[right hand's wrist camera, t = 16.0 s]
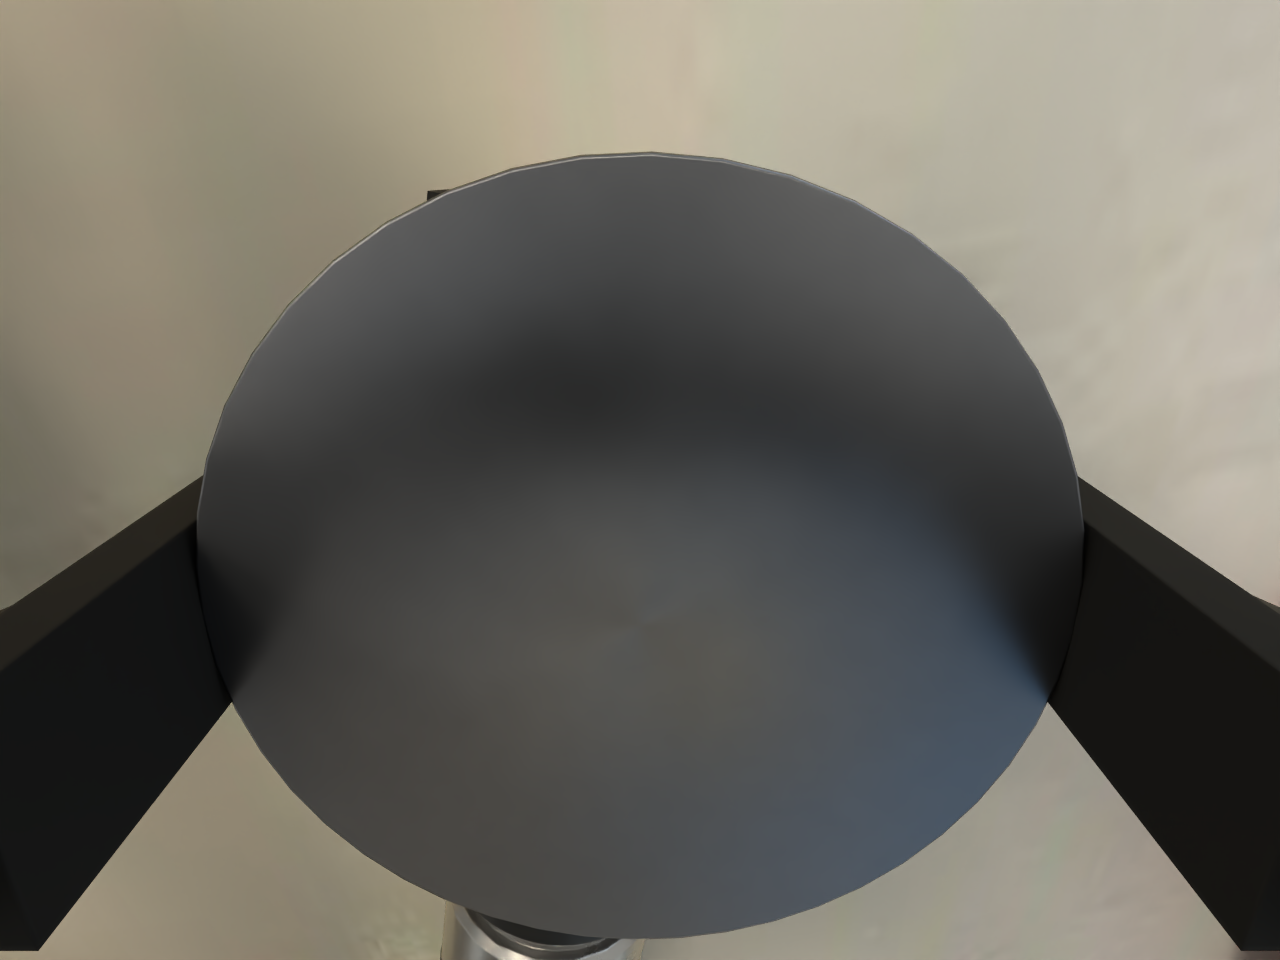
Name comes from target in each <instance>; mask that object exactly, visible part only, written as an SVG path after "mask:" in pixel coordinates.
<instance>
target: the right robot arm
mask: <svg viewBox="0 0 1280 960" xmlns="http://www.w3.org/2000/svg"><path fill="white" fill-rule="evenodd" d="M202 481H203V476H201V477H200V478H198V479H197V480H195V481H194V482H193V483H191V484H190V485H188V486H187V487H185V488H184V489H182V490H181V491H179V492H178V493H176V494H175V495H174V496H172V497H171V498H169V499H168V500H166V501H165V502H163V503H162V504H160V505H159V506H157V507H156V508H154V509H153V510H152V511H150V512H149V513H147V514H146V515H144V516H143V517H141V518H140V519H138V520H137V521H135V522H134V523H132V524H131V525H130V526H128V527H127V528H125V529H124V530H122V531H121V532H119V533H118V534H116V535H115V536H113V537H112V538H111V539H109V540H108V541H106V542H105V543H103V544H102V545H100V546H99V547H97V548H96V549H94V550H93V551H91V552H90V553H89V554H87V555H86V556H84V557H83V558H81V559H80V560H78V561H77V562H75V563H74V564H72V565H71V566H69V567H68V568H67V569H65V570H64V571H62V572H61V573H59V574H58V575H56V576H55V577H53V578H52V579H50V580H49V581H48V582H46V583H45V584H43V585H42V586H40V587H39V588H37V589H36V590H34V591H33V592H31V593H30V594H28V595H27V596H26V597H24V598H23V599H21V600H20V601H18V602H17V603H15V604H14V605H12V606H10V607H7V608H5V609H3V610H1V611H0V951H39V949H40V948H41V947H42V945H43V944H44V943H45V942H46V940H47V939H48V938H49V936H50V935H51V934H52V933H53V931H54V930H55V929H56V927H57V926H58V925H59V924H60V922H61V921H62V920H63V918H64V917H65V916H66V915H67V913H68V912H69V911H70V909H71V908H72V907H73V906H74V904H75V903H76V902H77V900H78V899H79V898H80V897H81V895H82V894H83V893H84V891H85V890H86V889H87V888H88V886H89V885H90V884H91V882H92V881H93V880H94V878H95V877H96V876H97V875H98V873H99V872H100V871H101V869H102V868H103V867H104V866H105V864H106V863H107V862H108V860H109V859H110V858H111V857H112V855H113V854H114V853H115V851H116V850H117V849H118V848H119V846H120V845H121V844H122V842H123V841H124V840H125V839H126V837H127V836H128V835H129V833H130V832H131V831H132V830H133V828H134V827H135V826H136V824H137V823H138V822H139V821H140V819H141V818H142V817H143V815H144V814H145V813H146V812H147V810H148V809H149V808H150V806H151V805H152V804H153V803H154V801H155V800H156V799H157V797H158V796H159V795H160V794H161V792H162V791H163V790H164V788H165V787H166V786H167V785H168V783H169V782H170V781H171V779H172V778H173V777H174V776H175V774H176V773H177V772H178V770H179V769H180V768H181V767H182V765H183V764H184V763H185V761H186V760H187V759H188V758H189V756H190V755H191V754H192V752H193V751H194V750H195V749H196V747H197V746H198V745H199V743H200V742H201V741H202V740H203V738H204V737H205V736H206V734H207V733H208V732H209V731H210V729H211V728H212V727H213V725H214V724H215V723H216V722H217V720H218V719H219V718H220V716H221V715H222V714H223V713H224V711H225V710H226V709H227V707H228V706H229V705H230V704H231V702H232V700H231V698H230V696H229V693H228V691H227V689H226V686H225V684H224V682H223V680H222V677H221V675H220V673H219V670H218V668H217V666H216V663H215V659H214V656H213V652H212V649H211V645H210V641H209V638H208V634H207V631H206V627H205V623H204V618H203V614H202V609H201V601H200V593H199V586H198V578H197V570H196V534H197V510H198V504H199V498H200V492H201V487H202ZM1078 483H1079V491H1080V499H1081V507H1082V515H1083V523H1084V559H1083V584H1082V590H1081V595H1080V601H1079V606H1078V611H1077V616H1076V620H1075V625H1074V629H1073V634H1072V638H1071V642H1070V646H1069V649H1068V652H1067V655H1066V658H1065V661H1064V664H1063V667H1062V670H1061V673H1060V676H1059V679H1058V681H1057V683H1056V685H1055V687H1054V689H1053V692H1052V694H1051V696H1050V698H1049V700H1048V703H1049V704H1050V705H1051V707H1052V708H1053V709H1054V711H1055V712H1056V713H1057V715H1058V716H1059V717H1060V718H1061V720H1062V721H1063V722H1064V724H1065V725H1066V726H1067V727H1068V729H1069V730H1070V731H1071V733H1072V734H1073V735H1074V736H1075V738H1076V739H1077V740H1078V742H1079V743H1080V744H1081V745H1082V747H1083V748H1084V749H1085V751H1086V752H1087V753H1088V754H1089V756H1090V757H1091V758H1092V760H1093V761H1094V762H1095V763H1096V765H1097V766H1098V767H1099V769H1100V770H1101V771H1102V772H1103V774H1104V775H1105V776H1106V778H1107V779H1108V780H1109V781H1110V783H1111V784H1112V785H1113V787H1114V788H1115V789H1116V790H1117V792H1118V793H1119V794H1120V796H1121V797H1122V798H1123V799H1124V801H1125V802H1126V803H1127V805H1128V806H1129V807H1130V808H1131V810H1132V811H1133V812H1134V814H1135V815H1136V816H1137V817H1138V819H1139V820H1140V821H1141V823H1142V824H1143V825H1144V826H1145V828H1146V829H1147V830H1148V832H1149V833H1150V834H1151V835H1152V837H1153V838H1154V839H1155V841H1156V842H1157V843H1158V844H1159V846H1160V847H1161V848H1162V850H1163V851H1164V852H1165V853H1166V855H1167V856H1168V857H1169V859H1170V860H1171V861H1172V862H1173V864H1174V865H1175V866H1176V868H1177V869H1178V870H1179V871H1180V873H1181V874H1182V875H1183V877H1184V878H1185V879H1186V880H1187V882H1188V883H1189V884H1190V886H1191V887H1192V888H1193V889H1194V891H1195V892H1196V893H1197V895H1198V896H1199V897H1200V898H1201V900H1202V901H1203V902H1204V904H1205V905H1206V906H1207V907H1208V909H1209V910H1210V911H1211V913H1212V914H1213V915H1214V917H1215V918H1216V919H1217V920H1218V922H1219V923H1220V924H1221V926H1222V927H1223V928H1224V929H1225V931H1226V932H1227V933H1228V935H1229V936H1230V937H1231V938H1232V940H1233V941H1234V942H1235V944H1236V945H1237V946H1238V947H1239V949H1240V950H1241V951H1280V607H1278V606H1275V605H1273V604H1271V603H1268V602H1266V601H1264V600H1262V599H1259V598H1257V597H1255V596H1253V595H1251V594H1249V593H1248V592H1247V591H1245V590H1244V589H1242V588H1241V587H1239V586H1238V585H1236V584H1235V583H1233V582H1232V581H1230V580H1229V579H1228V578H1226V577H1225V576H1223V575H1222V574H1220V573H1219V572H1217V571H1216V570H1214V569H1213V568H1211V567H1210V566H1208V565H1207V564H1206V563H1204V562H1203V561H1201V560H1200V559H1198V558H1197V557H1195V556H1194V555H1192V554H1191V553H1189V552H1188V551H1186V550H1185V549H1184V548H1182V547H1181V546H1179V545H1178V544H1176V543H1175V542H1173V541H1172V540H1170V539H1169V538H1167V537H1166V536H1165V535H1163V534H1162V533H1160V532H1159V531H1157V530H1156V529H1154V528H1153V527H1151V526H1150V525H1148V524H1147V523H1145V522H1144V521H1143V520H1141V519H1140V518H1138V517H1137V516H1135V515H1134V514H1132V513H1131V512H1129V511H1128V510H1126V509H1125V508H1123V507H1122V506H1121V505H1119V504H1118V503H1116V502H1115V501H1113V500H1112V499H1110V498H1109V497H1107V496H1106V495H1104V494H1103V493H1102V492H1100V491H1099V490H1097V489H1096V488H1094V487H1093V486H1091V485H1090V484H1088V483H1087V482H1085V481H1084V480H1082V479H1081V478H1080V477H1078Z"/></svg>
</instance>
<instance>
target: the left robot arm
mask: <svg viewBox="0 0 1280 960" xmlns="http://www.w3.org/2000/svg"><path fill="white" fill-rule="evenodd" d="M447 190H450V189H447ZM447 190H433V191H428V193H427V201H428V200H430V199H431V198H433V197H435V196H437V195H439V194H441V193H443V192H445V191H447ZM644 942H645V939H617V938H602V937H586V936H579V935H573V934H566V933H560V932H554V931H547V930H541V929H536V928H532V927H528V926H524V925H521V924H517V923H513V922H509V921H505V920H501V919H498V918H494V917H490V916H488V915H485V914H482V913H480V912H477V911H474V910H471V909H469V908H466V907H463V906H461V905H458V904H455V903H452V902H450V901H447V900H446V907H445V917H444V928H443V939H442V947H441V957H440V960H640V958H641V954H642V950H643V946H644Z"/></svg>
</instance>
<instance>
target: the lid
mask: <svg viewBox="0 0 1280 960" xmlns="http://www.w3.org/2000/svg"><path fill="white" fill-rule="evenodd" d="M1083 559H1084V523H1083V515H1082V507H1081V499H1080V491H1079V483H1078V476H1077V472H1076V469H1075V465H1074V462H1073V458H1072V454H1071V451H1070V447H1069V444H1068V440H1067V437H1066V433H1065V430H1064V426H1063V423H1062V420H1061V418H1060V416H1059V414H1058V412H1057V410H1056V408H1055V405H1054V403H1053V401H1052V399H1051V397H1050V395H1049V392H1048V390H1047V388H1046V386H1045V384H1044V382H1043V379H1042V377H1041V375H1040V373H1039V371H1038V369H1037V368H1036V366H1035V365H1034V363H1033V362H1032V360H1031V359H1030V357H1029V356H1028V354H1027V353H1026V351H1025V350H1024V348H1023V347H1022V345H1021V344H1020V342H1019V341H1018V339H1017V338H1016V336H1015V335H1014V333H1013V332H1012V330H1011V329H1010V327H1009V326H1008V324H1007V323H1006V321H1005V320H1004V319H1003V318H1002V317H1001V315H1000V314H999V313H998V312H997V311H996V310H995V309H994V308H993V307H992V306H991V305H990V303H989V302H988V301H987V300H986V299H985V298H984V297H983V296H982V295H981V294H980V293H979V291H978V290H977V289H976V288H975V287H974V286H973V285H972V284H971V283H970V282H969V281H968V280H967V278H966V277H965V276H964V275H963V274H962V273H960V272H959V271H958V270H957V269H955V268H954V267H953V266H952V265H950V264H949V263H948V262H947V261H945V260H944V259H943V258H942V257H940V256H939V255H938V254H937V253H935V252H934V251H933V250H932V249H931V248H929V247H928V246H927V245H926V244H924V243H923V242H922V241H921V240H919V239H918V238H917V237H916V236H914V235H913V234H912V233H910V232H908V231H906V230H905V229H903V228H901V227H900V226H898V225H896V224H894V223H893V222H891V221H889V220H888V219H886V218H884V217H882V216H881V215H879V214H877V213H876V212H874V211H872V210H870V209H869V208H867V207H865V206H863V205H862V204H860V203H858V202H857V201H855V200H853V199H850V198H848V197H845V196H843V195H840V194H838V193H835V192H833V191H830V190H828V189H825V188H823V187H820V186H818V185H815V184H813V183H810V182H808V181H805V180H803V179H800V178H798V177H795V176H793V175H790V174H786V173H781V172H777V171H773V170H769V169H765V168H761V167H757V166H752V165H748V164H744V163H740V162H736V161H732V160H728V159H723V158H714V157H704V156H693V155H683V154H672V153H662V152H633V153H611V154H590V155H578V156H573V157H568V158H562V159H557V160H552V161H547V162H542V163H536V164H531V165H526V166H521V167H515V168H511V169H508V170H505V171H502V172H499V173H496V174H494V175H491V176H488V177H485V178H482V179H479V180H476V181H473V182H470V183H467V184H465V185H462V186H459V187H456V188H453V189H450V190H447V191H445V192H443V193H441V194H439V195H437V196H435V197H433V198H431V199H430V200H428V201H426V202H424V203H422V204H420V205H418V206H416V207H414V208H412V209H410V210H408V211H406V212H404V213H402V214H401V215H399V216H397V217H395V218H393V219H391V220H389V221H387V222H385V223H384V224H383V225H381V226H380V227H379V228H377V229H376V230H374V231H373V232H372V233H370V234H369V235H367V236H366V237H365V238H363V239H362V240H361V241H359V242H358V243H356V244H355V245H354V246H352V247H351V248H349V249H348V250H347V251H345V252H344V253H343V254H341V255H340V256H338V257H337V258H336V259H334V260H333V261H332V262H331V263H330V264H329V265H328V266H327V267H326V268H325V269H324V270H323V271H322V272H321V273H320V274H319V275H318V276H317V277H316V278H315V279H314V280H313V281H312V282H311V283H310V284H309V285H308V286H307V287H306V288H304V289H303V290H302V291H301V292H300V293H299V294H298V295H297V296H296V297H295V298H294V299H293V300H292V301H291V302H290V303H289V304H288V305H287V307H286V308H285V309H284V311H283V312H282V314H281V315H280V316H279V318H278V319H277V320H276V322H275V323H274V324H273V326H272V327H271V328H270V330H269V331H268V332H267V334H266V335H265V336H264V338H263V339H262V340H261V342H260V343H259V344H258V346H257V347H256V348H255V350H254V351H253V352H252V354H251V356H250V358H249V360H248V362H247V363H246V365H245V367H244V369H243V371H242V373H241V375H240V377H239V379H238V381H237V382H236V384H235V386H234V388H233V390H232V392H231V394H230V396H229V398H228V400H227V401H226V403H225V405H224V408H223V411H222V414H221V417H220V420H219V423H218V426H217V429H216V432H215V435H214V438H213V441H212V444H211V446H210V449H209V452H208V455H207V458H206V464H205V470H204V475H203V481H202V487H201V492H200V498H199V504H198V510H197V534H196V570H197V578H198V586H199V593H200V601H201V609H202V614H203V618H204V623H205V627H206V631H207V634H208V638H209V641H210V645H211V649H212V652H213V656H214V659H215V663H216V666H217V668H218V670H219V673H220V675H221V677H222V680H223V682H224V684H225V686H226V689H227V691H228V693H229V696H230V698H231V700H232V702H233V705H234V707H235V709H236V711H237V713H238V715H239V716H240V718H241V720H242V721H243V723H244V725H245V726H246V728H247V729H248V731H249V733H250V734H251V736H252V738H253V739H254V741H255V743H256V744H257V746H258V748H259V749H260V751H261V753H262V754H263V755H264V756H265V758H266V759H267V760H268V761H269V763H270V764H271V765H272V766H273V768H274V769H275V770H276V772H277V773H278V774H279V775H280V777H281V778H282V779H283V780H284V782H285V783H286V784H287V785H288V787H289V788H290V789H291V790H292V791H293V792H294V793H295V794H296V795H297V796H298V797H299V798H300V799H301V800H302V801H303V802H304V803H305V804H306V805H307V806H308V807H309V808H310V809H311V810H312V811H313V812H314V813H315V814H316V815H317V816H318V817H319V818H320V819H321V820H322V821H323V822H324V823H325V824H326V825H327V826H328V827H330V828H331V829H332V830H333V831H335V832H336V833H337V834H339V835H340V836H341V837H342V838H344V839H345V840H346V841H347V842H349V843H350V844H351V845H352V846H354V847H355V848H356V849H358V850H359V851H360V852H361V853H363V854H364V855H366V856H367V857H369V858H370V859H372V860H374V861H375V862H377V863H378V864H380V865H382V866H383V867H385V868H386V869H388V870H390V871H391V872H393V873H394V874H396V875H398V876H399V877H401V878H402V879H404V880H406V881H408V882H410V883H412V884H414V885H416V886H418V887H420V888H422V889H424V890H426V891H429V892H431V893H433V894H435V895H437V896H439V897H441V898H443V899H445V900H447V901H450V902H452V903H455V904H458V905H461V906H463V907H466V908H469V909H471V910H474V911H477V912H480V913H482V914H485V915H488V916H490V917H494V918H498V919H501V920H505V921H509V922H513V923H517V924H521V925H524V926H528V927H532V928H536V929H541V930H547V931H554V932H560V933H566V934H573V935H579V936H586V937H602V938H617V939H661V938H683V937H691V936H699V935H707V934H714V933H722V932H729V931H733V930H737V929H742V928H746V927H751V926H755V925H760V924H764V923H768V922H773V921H776V920H779V919H782V918H785V917H788V916H791V915H794V914H797V913H800V912H803V911H806V910H809V909H812V908H815V907H818V906H820V905H823V904H825V903H827V902H829V901H832V900H834V899H836V898H838V897H841V896H843V895H845V894H847V893H850V892H852V891H854V890H856V889H859V888H861V887H863V886H865V885H866V884H868V883H870V882H871V881H873V880H875V879H877V878H878V877H880V876H882V875H884V874H885V873H887V872H889V871H890V870H892V869H894V868H896V867H897V866H899V865H901V864H903V863H904V862H906V861H907V860H908V859H910V858H911V857H912V856H914V855H915V854H916V853H918V852H919V851H921V850H922V849H923V848H925V847H926V846H927V845H929V844H930V843H931V842H933V841H934V840H936V839H937V838H938V837H940V836H941V835H942V834H943V833H945V832H946V831H947V830H948V829H949V828H950V827H951V826H952V825H953V824H954V823H955V822H957V821H958V820H959V819H960V818H961V817H962V816H963V815H964V814H965V813H966V812H967V811H968V810H970V809H971V808H972V807H973V806H974V805H975V804H976V803H977V802H978V801H979V800H980V799H981V798H982V796H983V795H984V794H985V793H986V792H987V791H988V789H989V788H990V787H991V786H992V785H993V784H994V782H995V781H996V780H997V779H998V778H999V777H1000V775H1001V774H1002V773H1003V772H1004V771H1005V770H1006V768H1007V767H1008V766H1009V765H1010V763H1011V762H1012V760H1013V759H1014V757H1015V756H1016V754H1017V753H1018V751H1019V750H1020V748H1021V747H1022V745H1023V744H1024V742H1025V741H1026V739H1027V738H1028V736H1029V735H1030V733H1031V732H1032V730H1033V729H1034V727H1035V726H1036V724H1037V722H1038V720H1039V718H1040V716H1041V714H1042V712H1043V710H1044V708H1045V706H1046V704H1047V702H1048V700H1049V698H1050V696H1051V694H1052V692H1053V689H1054V687H1055V685H1056V683H1057V681H1058V679H1059V676H1060V673H1061V670H1062V667H1063V664H1064V661H1065V658H1066V655H1067V652H1068V649H1069V646H1070V642H1071V638H1072V634H1073V629H1074V625H1075V620H1076V616H1077V611H1078V606H1079V601H1080V595H1081V590H1082V584H1083Z"/></svg>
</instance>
